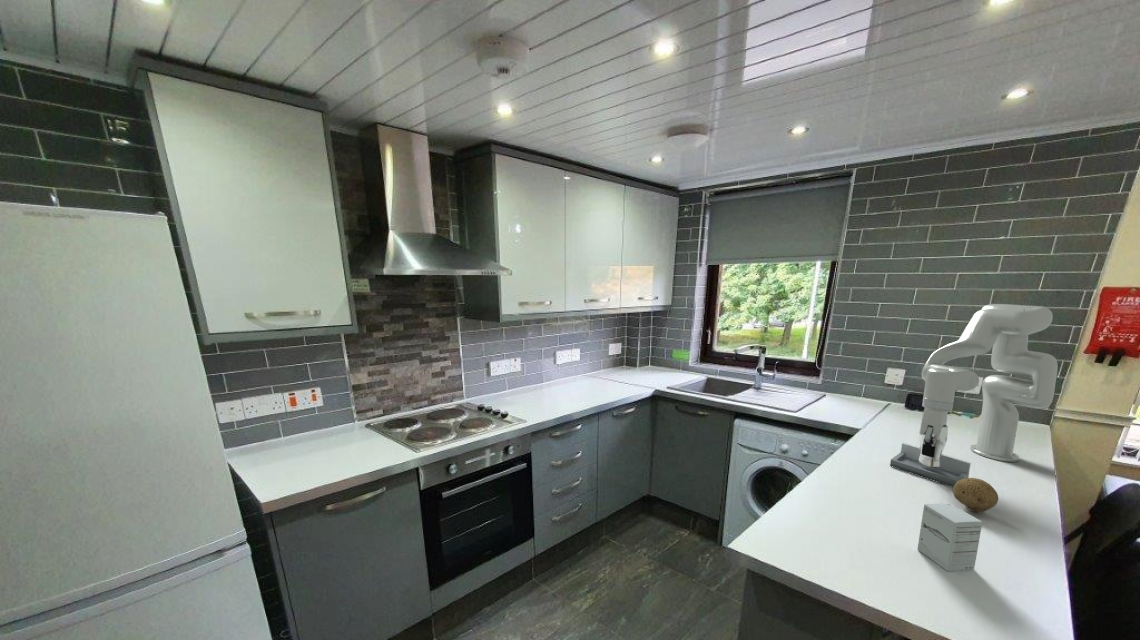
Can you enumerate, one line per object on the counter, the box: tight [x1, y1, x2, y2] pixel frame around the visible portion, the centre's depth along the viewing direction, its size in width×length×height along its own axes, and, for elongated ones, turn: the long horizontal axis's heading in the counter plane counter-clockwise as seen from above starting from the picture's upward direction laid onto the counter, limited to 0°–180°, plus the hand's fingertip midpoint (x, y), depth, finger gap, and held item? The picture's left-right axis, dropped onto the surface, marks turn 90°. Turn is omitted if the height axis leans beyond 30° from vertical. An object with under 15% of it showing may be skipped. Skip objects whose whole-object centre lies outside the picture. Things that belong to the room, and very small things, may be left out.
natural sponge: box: [952, 477, 999, 513], centre depth 111 cm, size 9×9×10 cm
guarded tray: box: [889, 442, 971, 488], centre depth 133 cm, size 12×18×6 cm, turn 34°
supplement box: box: [917, 502, 983, 572], centre depth 91 cm, size 7×7×13 cm
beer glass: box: [918, 424, 949, 468], centre depth 132 cm, size 7×7×15 cm
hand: (930, 453), depth 133 cm, fingers closed on beer glass, 6 cm apart
